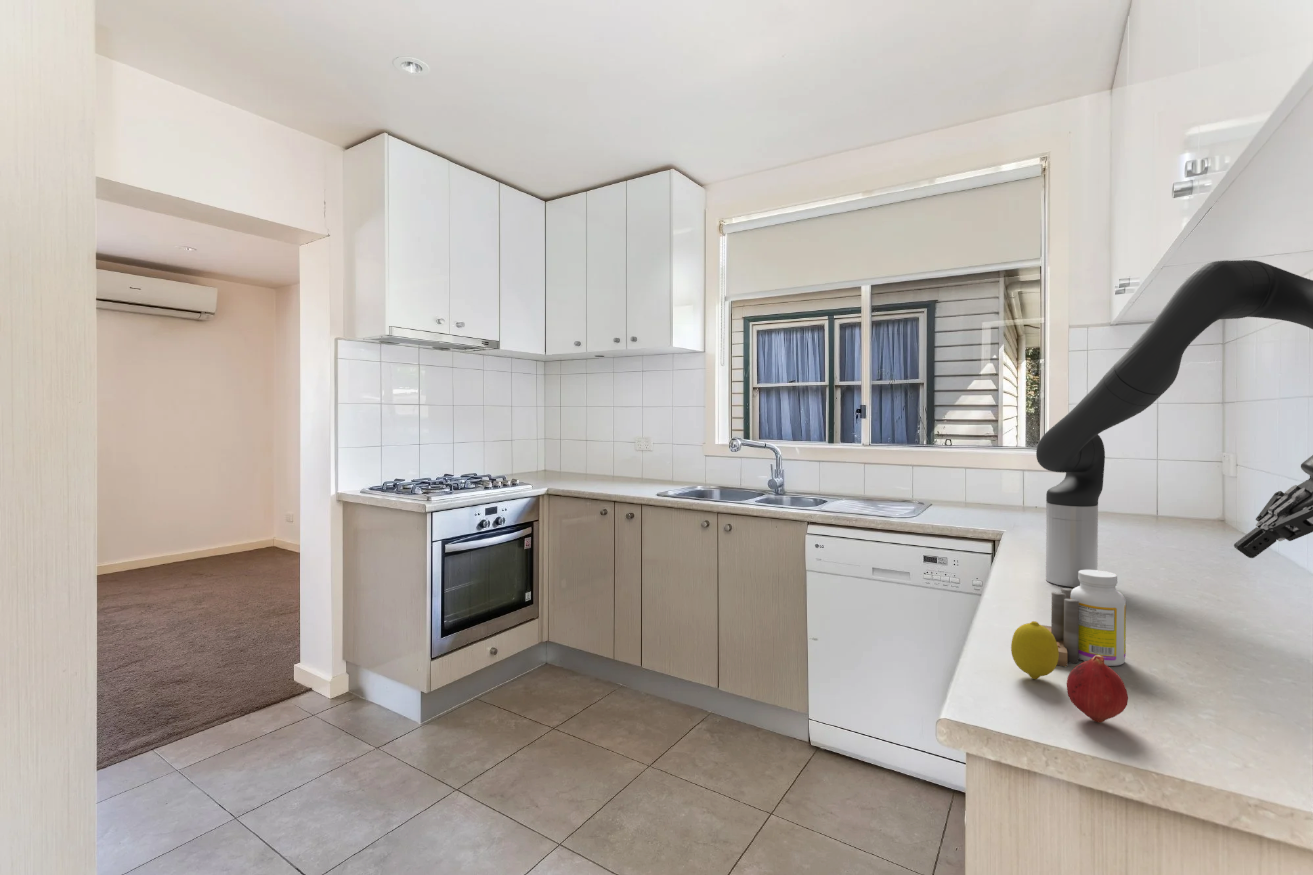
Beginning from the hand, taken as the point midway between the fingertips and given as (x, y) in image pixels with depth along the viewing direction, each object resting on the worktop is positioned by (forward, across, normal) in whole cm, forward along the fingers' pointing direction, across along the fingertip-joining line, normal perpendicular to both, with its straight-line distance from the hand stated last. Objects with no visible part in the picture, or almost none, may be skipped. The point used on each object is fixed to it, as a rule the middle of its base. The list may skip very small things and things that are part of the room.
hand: (1241, 552), depth 82 cm
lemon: (+29, +15, -8) cm, 33 cm away
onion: (+24, +25, -4) cm, 35 cm away
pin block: (+28, +2, -6) cm, 28 cm away
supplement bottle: (+24, +2, -1) cm, 24 cm away
